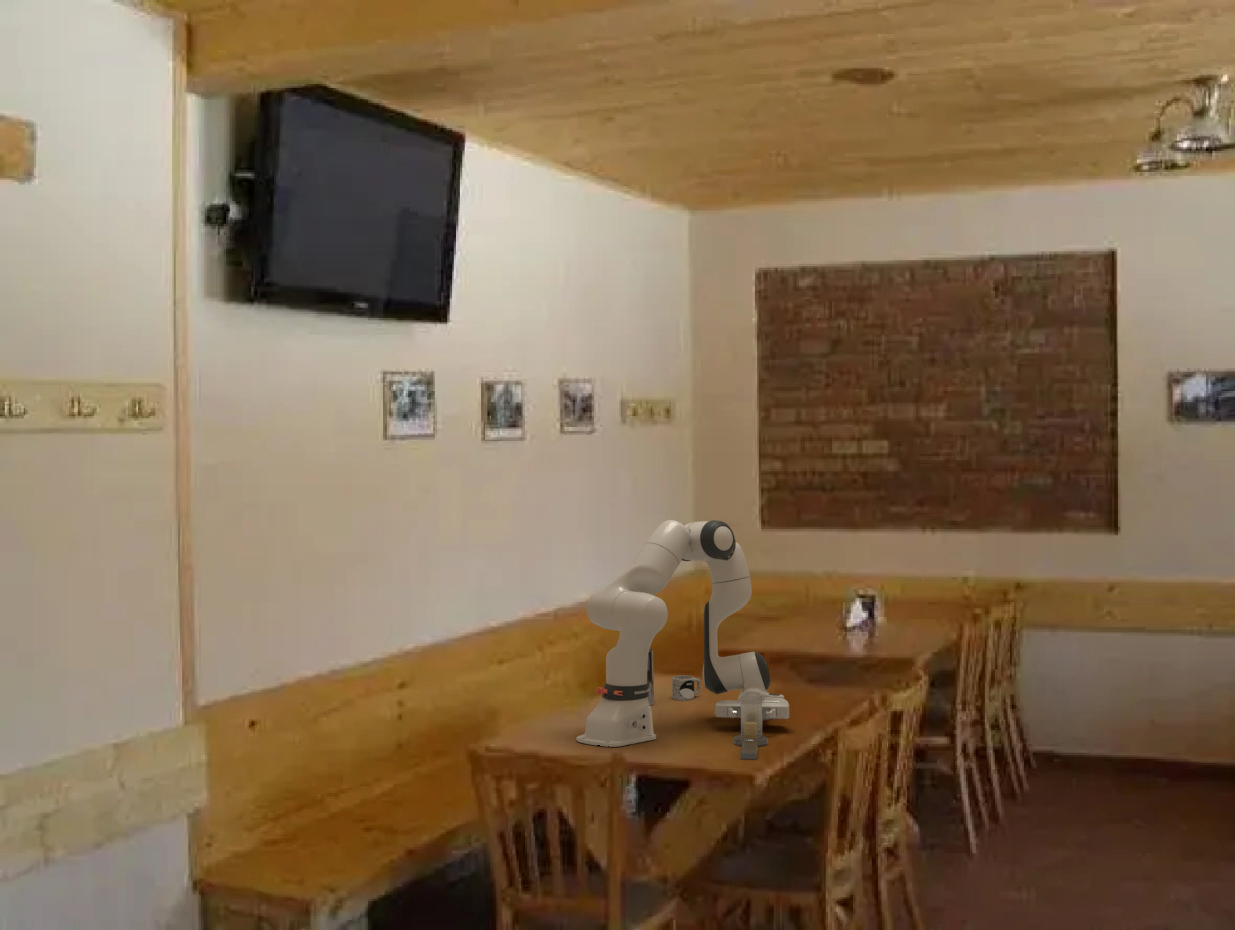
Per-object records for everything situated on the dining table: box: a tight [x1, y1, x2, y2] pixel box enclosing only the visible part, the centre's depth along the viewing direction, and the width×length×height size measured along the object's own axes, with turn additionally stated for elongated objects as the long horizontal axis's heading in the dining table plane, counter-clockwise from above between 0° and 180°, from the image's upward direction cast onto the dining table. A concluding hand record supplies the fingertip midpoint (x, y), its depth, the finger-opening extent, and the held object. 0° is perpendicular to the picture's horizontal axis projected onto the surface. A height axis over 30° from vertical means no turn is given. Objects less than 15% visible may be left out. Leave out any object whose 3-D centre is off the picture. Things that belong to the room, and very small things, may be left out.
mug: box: [671, 674, 702, 702], centre depth 465 cm, size 10×7×7 cm
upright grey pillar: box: [740, 696, 763, 736], centre depth 409 cm, size 6×6×10 cm
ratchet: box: [733, 722, 769, 760], centre depth 392 cm, size 24×9×6 cm, turn 173°
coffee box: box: [647, 648, 655, 706], centre depth 456 cm, size 9×6×16 cm
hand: (751, 715), depth 408 cm, fingers open, 8 cm apart
